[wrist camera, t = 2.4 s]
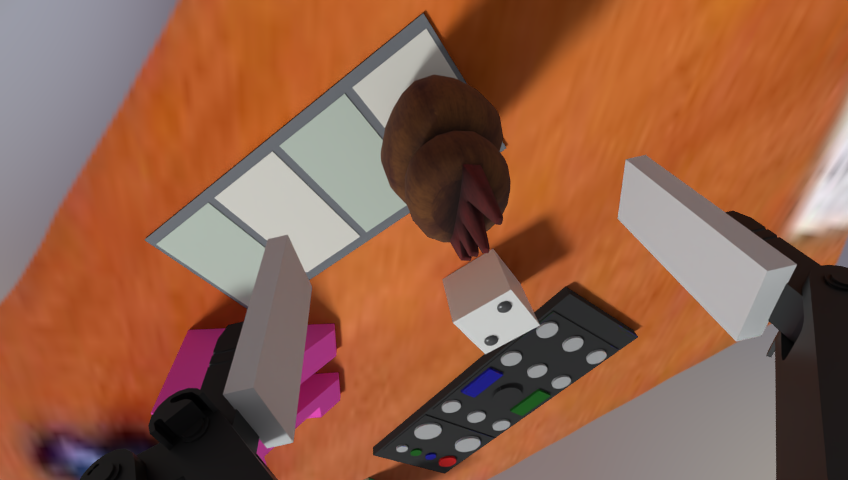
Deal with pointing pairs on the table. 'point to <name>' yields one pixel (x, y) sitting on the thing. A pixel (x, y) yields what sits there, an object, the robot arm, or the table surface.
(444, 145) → the wooden figurine
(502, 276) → the die
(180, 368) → the bracket
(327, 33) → the table surface
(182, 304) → the table surface
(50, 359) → the table surface
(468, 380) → the remote control
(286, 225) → the game mat
